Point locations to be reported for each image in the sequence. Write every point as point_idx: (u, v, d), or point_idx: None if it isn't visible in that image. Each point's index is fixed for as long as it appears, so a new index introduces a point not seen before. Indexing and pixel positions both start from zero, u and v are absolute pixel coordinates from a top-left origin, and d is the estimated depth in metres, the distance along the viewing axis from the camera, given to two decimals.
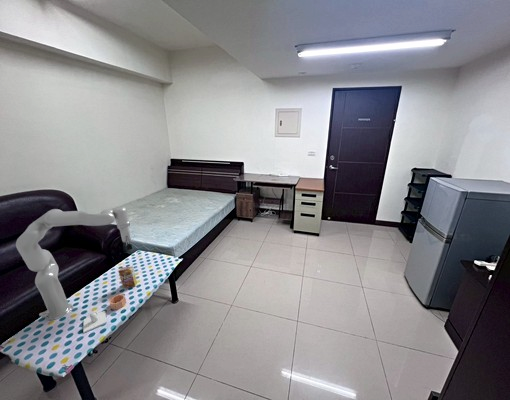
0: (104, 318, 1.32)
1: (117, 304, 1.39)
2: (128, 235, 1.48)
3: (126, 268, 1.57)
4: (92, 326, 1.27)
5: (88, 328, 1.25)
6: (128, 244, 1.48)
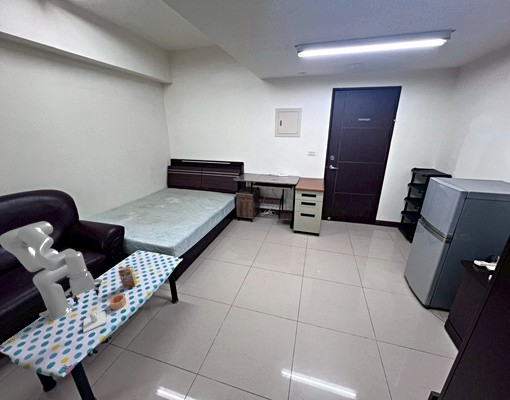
0: (104, 318, 1.32)
1: (117, 304, 1.39)
2: None
3: (126, 268, 1.57)
4: (92, 326, 1.27)
5: (88, 328, 1.25)
6: (99, 286, 1.27)
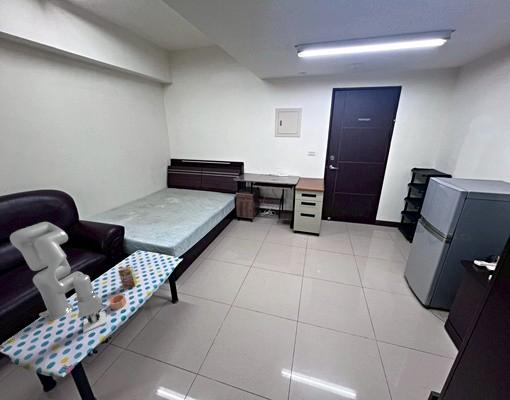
0: (104, 318, 1.32)
1: (117, 304, 1.39)
2: None
3: (126, 268, 1.57)
4: (92, 326, 1.27)
5: (88, 328, 1.25)
6: (99, 311, 1.31)
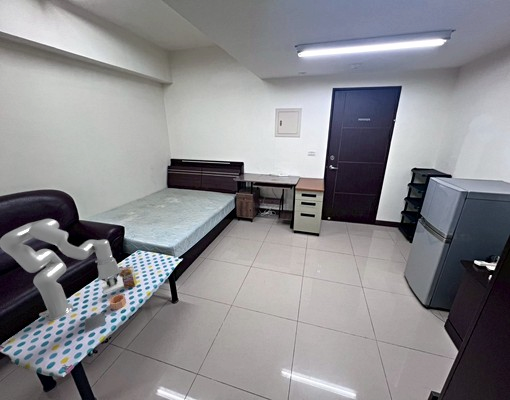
0: (121, 282, 1.40)
1: (117, 304, 1.39)
2: None
3: (126, 268, 1.57)
4: (111, 288, 1.34)
5: (107, 290, 1.33)
6: (117, 275, 1.39)
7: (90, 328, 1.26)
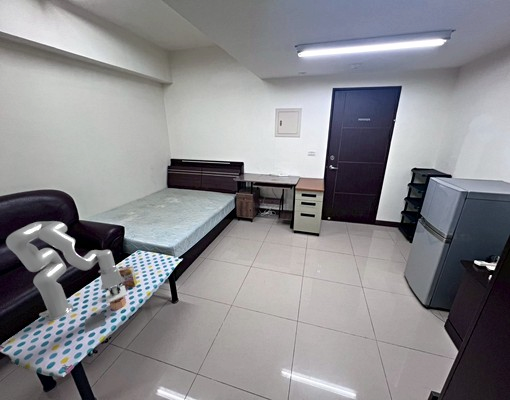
0: (124, 291, 1.42)
1: (117, 304, 1.39)
2: None
3: (126, 268, 1.57)
4: (114, 298, 1.37)
5: (110, 299, 1.35)
6: (120, 284, 1.41)
7: (90, 328, 1.26)
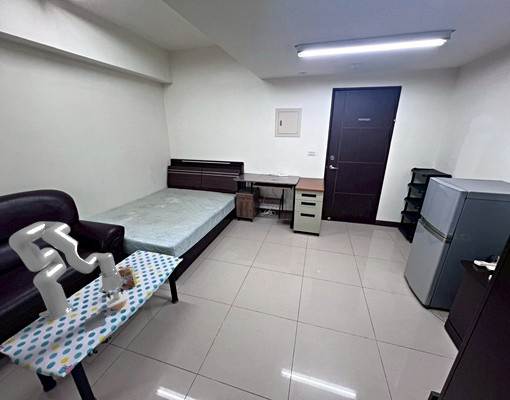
0: (125, 296, 1.43)
1: (117, 304, 1.39)
2: None
3: (126, 268, 1.57)
4: (115, 302, 1.38)
5: (111, 304, 1.37)
6: (123, 286, 1.42)
7: (90, 328, 1.26)
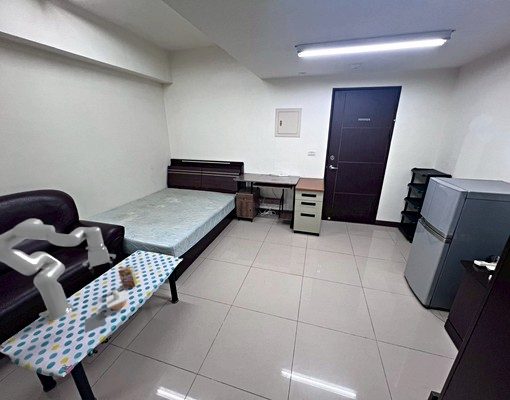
0: (125, 296, 1.43)
1: (117, 304, 1.39)
2: None
3: (126, 268, 1.57)
4: (115, 302, 1.38)
5: (111, 304, 1.37)
6: (113, 260, 1.40)
7: (90, 328, 1.26)
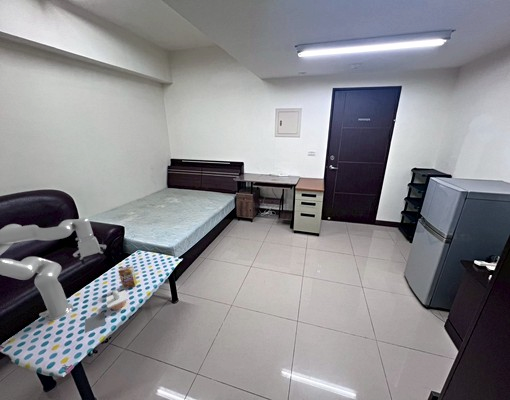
0: (125, 296, 1.43)
1: (117, 304, 1.39)
2: None
3: (126, 268, 1.57)
4: (115, 302, 1.38)
5: (111, 304, 1.37)
6: (103, 251, 1.42)
7: (90, 328, 1.26)
